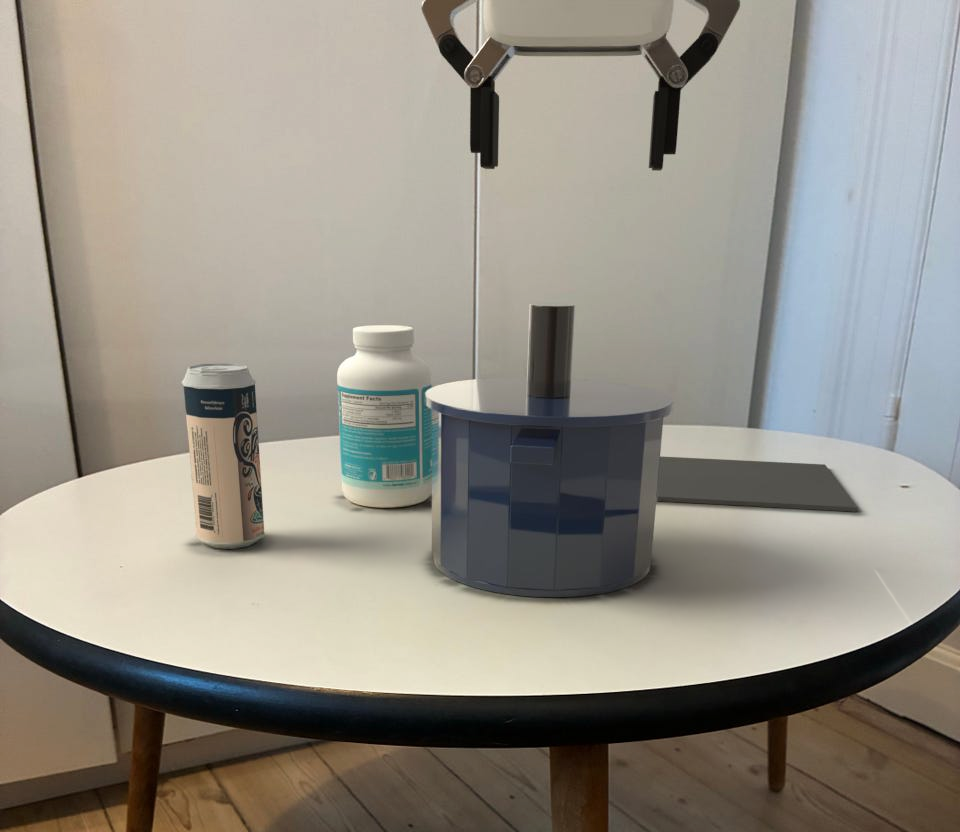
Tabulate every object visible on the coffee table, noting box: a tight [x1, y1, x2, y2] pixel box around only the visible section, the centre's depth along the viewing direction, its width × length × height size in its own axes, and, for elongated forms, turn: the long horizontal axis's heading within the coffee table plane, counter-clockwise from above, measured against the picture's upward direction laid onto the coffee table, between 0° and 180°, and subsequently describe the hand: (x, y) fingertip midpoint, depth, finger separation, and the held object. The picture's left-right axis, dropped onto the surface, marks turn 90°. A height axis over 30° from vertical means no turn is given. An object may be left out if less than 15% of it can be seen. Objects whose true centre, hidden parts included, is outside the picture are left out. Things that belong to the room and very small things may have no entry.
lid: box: [425, 302, 675, 427], centre depth 64 cm, size 16×16×7 cm
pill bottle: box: [336, 324, 432, 509], centre depth 81 cm, size 8×7×14 cm
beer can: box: [181, 362, 266, 550], centre depth 70 cm, size 5×5×12 cm
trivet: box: [656, 455, 858, 513], centre depth 91 cm, size 16×16×1 cm
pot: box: [431, 410, 664, 598], centre depth 67 cm, size 15×20×10 cm
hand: (571, 168), depth 59 cm, fingers open, 9 cm apart
